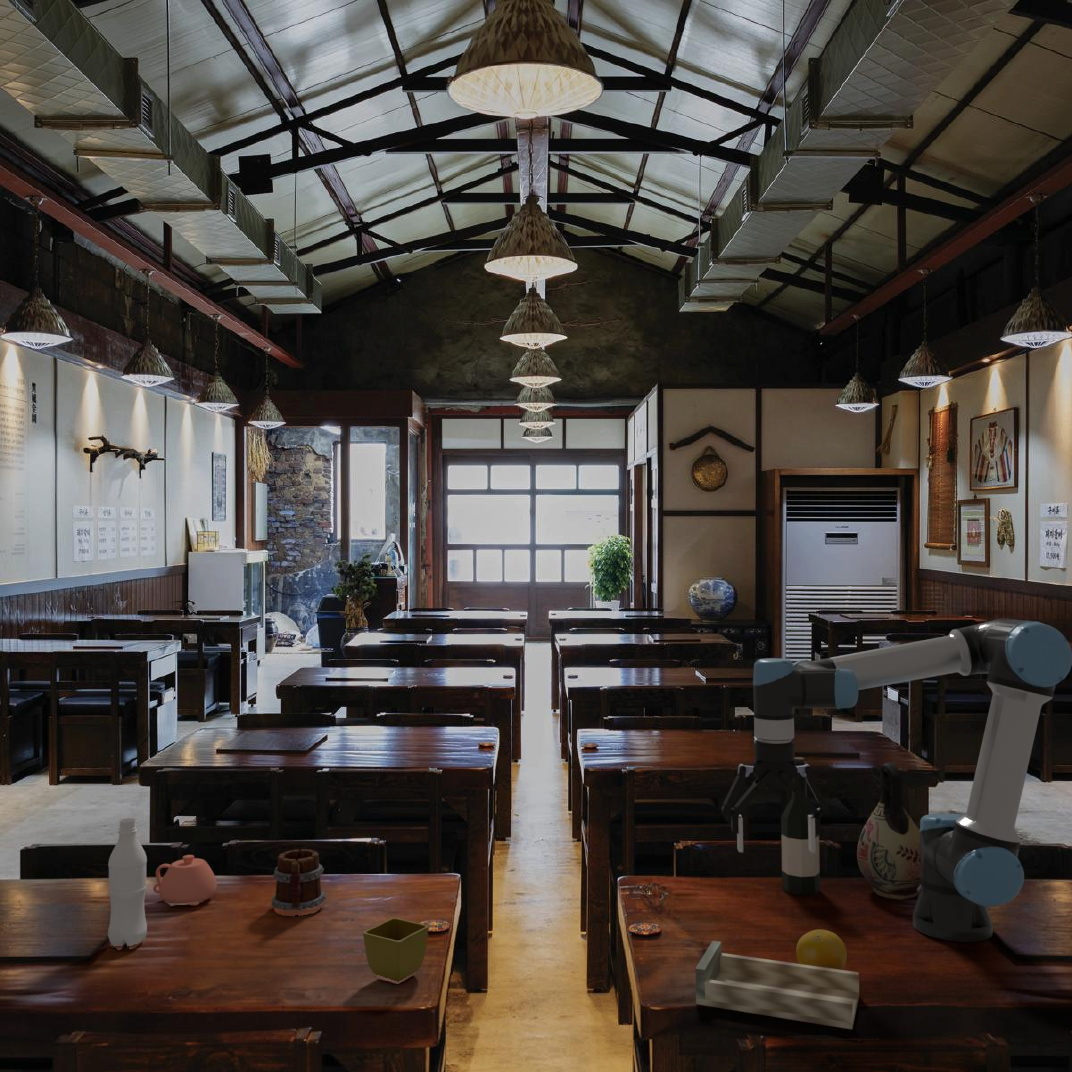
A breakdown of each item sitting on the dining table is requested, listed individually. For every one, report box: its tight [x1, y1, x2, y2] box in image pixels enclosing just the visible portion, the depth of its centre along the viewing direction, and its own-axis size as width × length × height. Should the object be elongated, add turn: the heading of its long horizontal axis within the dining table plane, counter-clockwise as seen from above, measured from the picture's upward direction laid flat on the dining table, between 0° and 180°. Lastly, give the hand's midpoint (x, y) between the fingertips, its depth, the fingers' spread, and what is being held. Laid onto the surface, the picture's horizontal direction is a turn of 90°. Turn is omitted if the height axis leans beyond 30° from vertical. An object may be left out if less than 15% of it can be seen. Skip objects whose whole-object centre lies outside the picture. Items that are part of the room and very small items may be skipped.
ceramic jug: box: [856, 762, 921, 901], centre depth 226 cm, size 17×15×30 cm
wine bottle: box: [780, 756, 821, 897], centre depth 230 cm, size 8×8×30 cm
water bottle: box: [107, 817, 148, 947], centre depth 200 cm, size 7×7×25 cm
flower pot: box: [362, 917, 429, 982], centre depth 183 cm, size 9×9×9 cm
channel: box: [694, 940, 860, 1030], centre depth 173 cm, size 26×13×6 cm, turn 68°
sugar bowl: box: [152, 854, 218, 903], centre depth 226 cm, size 12×14×10 cm
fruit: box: [795, 928, 848, 970], centre depth 183 cm, size 9×8×8 cm
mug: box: [270, 848, 327, 910], centre depth 219 cm, size 12×14×15 cm
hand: (776, 850), depth 192 cm, fingers open, 13 cm apart
